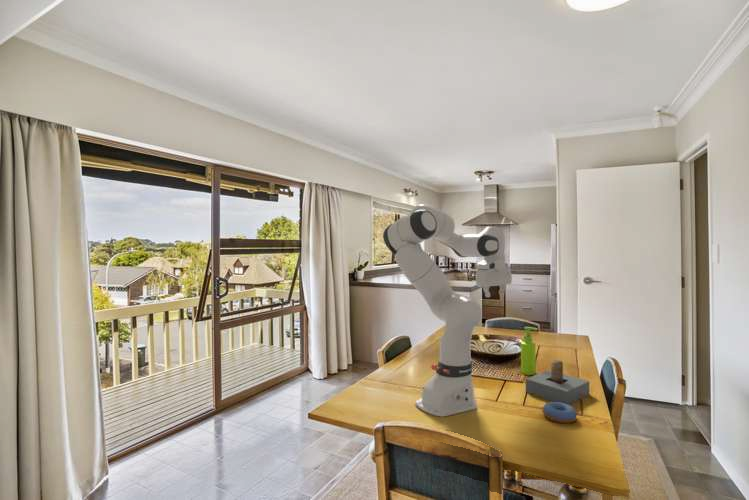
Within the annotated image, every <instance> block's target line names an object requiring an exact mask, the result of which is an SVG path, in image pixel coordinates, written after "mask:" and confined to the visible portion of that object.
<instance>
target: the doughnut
mask: <svg viewBox="0 0 749 500" xmlns="http://www.w3.org/2000/svg"><path fill="white" fill-rule="evenodd" d="M542 412H543V416H544V417H545V418H546V419H548V420H549V421H551V422H554V423H558V424H572V423H573V422H575V421H576V420H577V415H578V414H577V411H576V409H575V408H574V407H573V406H571V404H570V405H568V404H565V403H561V402H554V401H550V402H547V403H545V404H544V406H543V407H542Z"/></svg>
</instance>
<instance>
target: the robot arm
mask: <svg viewBox="0 0 749 500" xmlns="http://www.w3.org/2000/svg"><path fill="white" fill-rule="evenodd" d="M455 228H456V225H455V220H454V219H453V217H452V216H451V215H450V214H448V213H446V212H444V211H443V210H441V209H438V208H436V207H435V206H434V207H433V206H431V205H428V204H427V205H426V204H417V205H415V206H414V207H413V208H412V209H411V211H410V212H409V214H407V215H405V216H402V217H400V218H399V219H397V220H396V221H394V222H392V223H391V224H389V225H388V226H387V227H386V228H385V229H384V231H383V233H382V236H383V242H384V244H385V246H386V248H388V249H389V250H390V252H391V253H392V254H394V255H395V257H394V260H395V262H396V264H397V266H398V268H399V269H400V270H401V272H402V274H403V275H404V277H406V279H407V280H408V281H409V282H410V283H411V284H412V286H413V287H414V288H415V289H416V291H418V292H419V294H421V296H422V298H423V299H424V300H425V302H426V303H427V305H428V307H429V309H430V311H431V313H432V314H433V315H434V316H435V317H436V318H437V319H439V320H441V321H443V322H445V329H444V332H443V335H442V336H441V337H440V339H439V341H438V342H439V360H438V363H437V364H436V363H432V364H431V366H430V369H431V370H433V371H435V373H434V375H433V376H432V377H431V378H430V379H429V380H428V382H426V384H424V386H423V388H422V393H421V394H422V395H421V397H420V398H418V399H417V400H415V405H416V407H417V408H419V410H422V411H423V412H425V413H427V414H430V415H433V416H436V417H448V416H451V415H452V416H453V415H456V414H461V413H464V412H469V411H472V410H476V409H478V405H477V403H476V402H477V400H476V397H475V391H474V382H473V378H472V373H473V364H472V361H471V360H472V358H471V357H472V356H471V351H472V349H471V348H472V347H471V346H472V345H471V343H472V336H473V333H474V330H475V327H476V326H477V325H479V324H480V323H481V320H482V317H483V310H482V307H481V305H480V304H479V302H477V301H476V300H474V299H473V298H471V297H469V296H468V295H467V296H466V295H463V294H459V293H457V292H456V291H454V290H453V289H452V288H451V286H450V284H449V282H448V277H447V275H446V274H445V273H444V271H442V269H441V268H440V267H439V266H438V264H437V263H436V262H435V260H433V259H432V258H431V256H429V254H428V253H427V252H426V251H424V249H423V248H422V246H421V245H422V244H421V243H422V242H424V241H426V240H429V239H430V238H431V239H433V240H436V241H438V242H440V243H441V244H443V245H444V246H447V247H449V248H450V249H451V250H452V251H453V253H454V254H455V255H456V256H458V257H459V258H483V259H482V260H480V261H479V262H477V263H476V264H475V268H476V273H475V275H476V276H475V282H476V283H475V284H476V286H477V287H478V288H482V289H483V292H484V296H485V298H491V292H490V291H489V290H490V288H491V287H496V286H499V287H500V289H499V290H498V295H499V296H504V295H505V290H506V288H507V285H511V284H512V282H513V277H512V270H511V266H510V265H509V264H508V263H507V262H506V254H505V249H506V239H505V238H506V237H505V231H504V228H502V227H501V226H493V225H490V226H486V227H485V228H484V229H483V231H481V232H479V233H478V234H476V233H475V234H457V233H455Z"/></svg>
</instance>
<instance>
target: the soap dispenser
mask: <svg viewBox="0 0 749 500" xmlns="http://www.w3.org/2000/svg"><path fill="white" fill-rule="evenodd" d="M523 328H524V329H523V330H525V334H523V341H521V342H520V372H521V373H522V374H523V375H527V376H534V375H537V374H536V365H537V363H536V360H537V358H536V356H537V355H536V342H533V335H532V334H531V330H533V331H538V330H539V328H537V327H533V326H532V327H531V326H524V327H523Z"/></svg>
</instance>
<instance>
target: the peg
mask: <svg viewBox="0 0 749 500" xmlns="http://www.w3.org/2000/svg"><path fill="white" fill-rule="evenodd" d="M563 369H564V362H563V361H562V360H558V359H553V360H552V359H551V361H550V371H551V381H552V382H555V383H559V384H562V383H563V374H564V370H563Z"/></svg>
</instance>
